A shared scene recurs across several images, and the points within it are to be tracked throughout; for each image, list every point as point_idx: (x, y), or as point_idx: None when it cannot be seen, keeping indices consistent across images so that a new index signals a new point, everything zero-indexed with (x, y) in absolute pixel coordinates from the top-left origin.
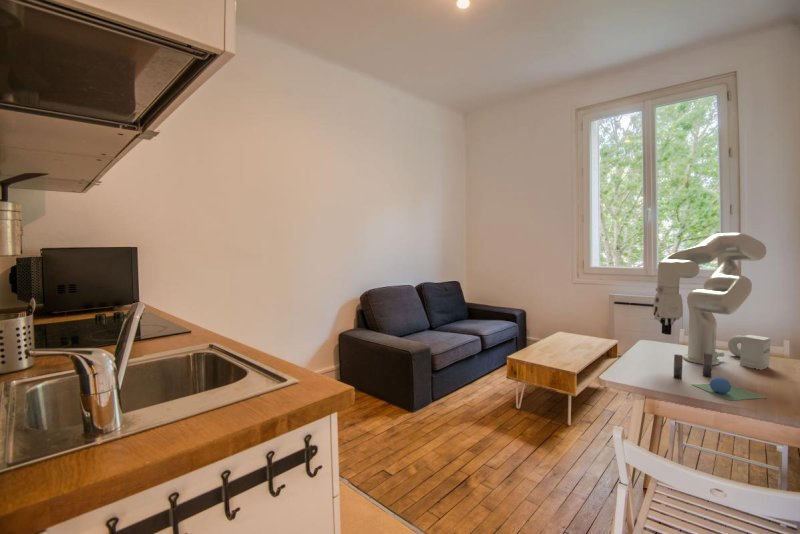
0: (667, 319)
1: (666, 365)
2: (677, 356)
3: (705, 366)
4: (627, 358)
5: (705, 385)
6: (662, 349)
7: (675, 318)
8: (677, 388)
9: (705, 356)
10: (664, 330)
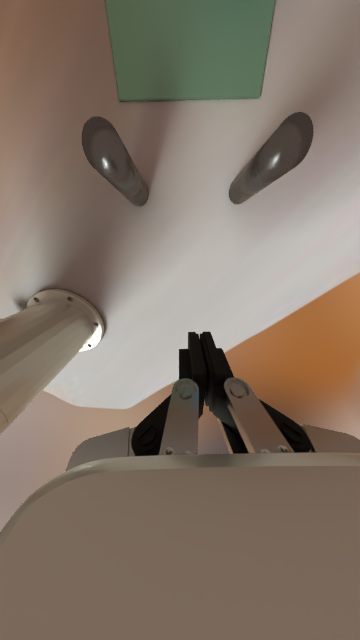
0: (252, 438)
1: (176, 301)
2: (311, 127)
3: (138, 172)
4: None
5: (222, 70)
6: (108, 385)
7: (125, 455)
8: (348, 60)
9: (124, 149)
10: (223, 355)
